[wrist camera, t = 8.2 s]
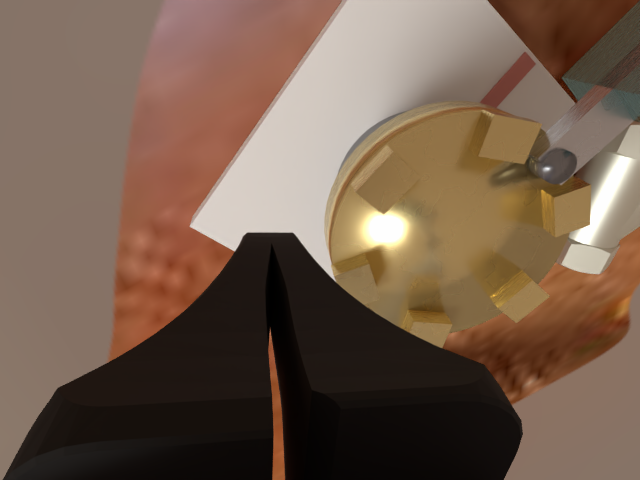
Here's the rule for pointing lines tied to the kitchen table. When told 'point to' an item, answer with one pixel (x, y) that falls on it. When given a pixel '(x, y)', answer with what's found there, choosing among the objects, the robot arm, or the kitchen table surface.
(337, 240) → the gold gear
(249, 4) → the kitchen table surface
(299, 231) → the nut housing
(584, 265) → the pipe fitting
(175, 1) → the kitchen table surface
